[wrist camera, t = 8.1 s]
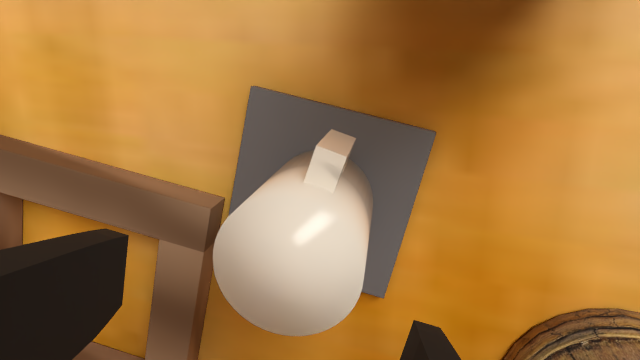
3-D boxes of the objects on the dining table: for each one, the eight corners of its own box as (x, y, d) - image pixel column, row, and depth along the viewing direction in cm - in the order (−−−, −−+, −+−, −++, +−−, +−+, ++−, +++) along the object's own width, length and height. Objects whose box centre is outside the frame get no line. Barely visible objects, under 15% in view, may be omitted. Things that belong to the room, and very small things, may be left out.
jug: (351, 262, 19) (332, 357, 13) (259, 226, 19) (197, 302, 13) (399, 146, 17) (405, 191, 11) (297, 108, 17) (245, 131, 11)
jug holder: (189, 405, 23) (175, 429, 22) (-12, 338, 25) (-38, 356, 23) (224, 197, 20) (210, 208, 18) (-16, 130, 21) (-48, 135, 19)
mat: (383, 292, 20) (383, 298, 19) (226, 246, 20) (222, 251, 20) (435, 131, 17) (436, 133, 17) (254, 85, 18) (251, 86, 17)
